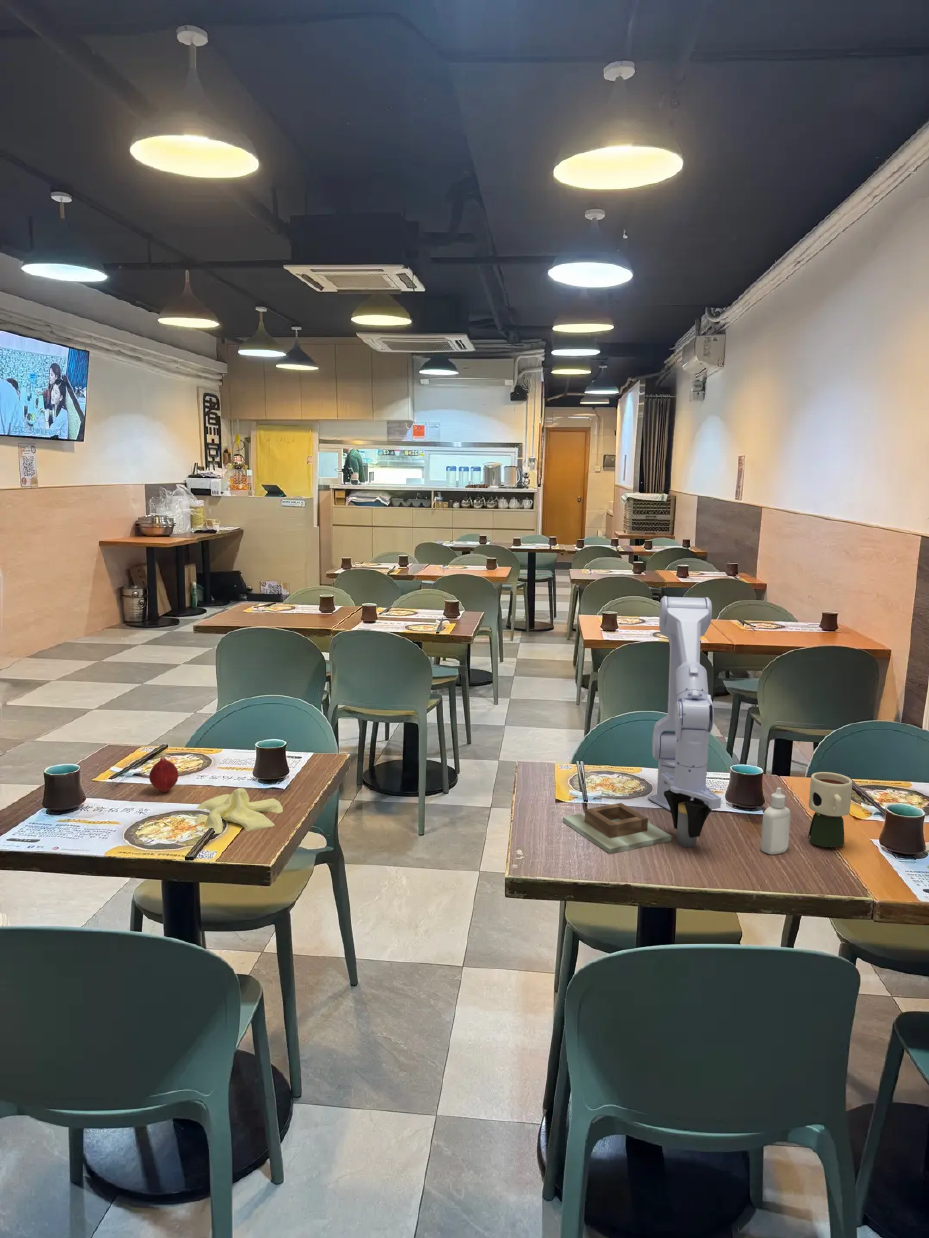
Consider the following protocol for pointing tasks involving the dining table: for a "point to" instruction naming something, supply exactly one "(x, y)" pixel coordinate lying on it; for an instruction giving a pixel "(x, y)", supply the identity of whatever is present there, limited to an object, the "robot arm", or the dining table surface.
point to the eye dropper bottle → (776, 825)
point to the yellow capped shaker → (684, 828)
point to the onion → (163, 775)
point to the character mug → (829, 808)
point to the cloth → (238, 811)
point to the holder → (616, 828)
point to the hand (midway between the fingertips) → (686, 831)
